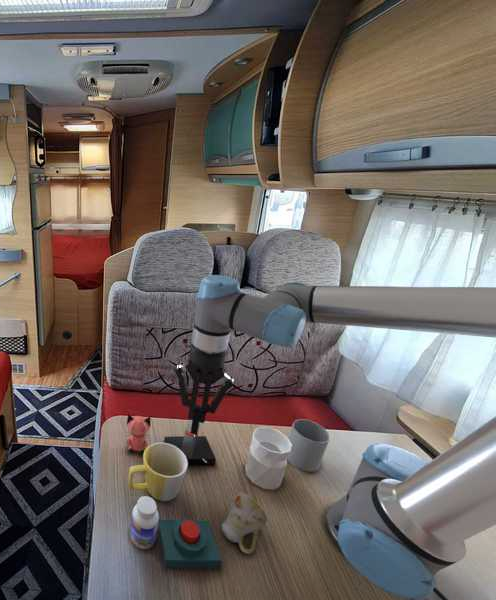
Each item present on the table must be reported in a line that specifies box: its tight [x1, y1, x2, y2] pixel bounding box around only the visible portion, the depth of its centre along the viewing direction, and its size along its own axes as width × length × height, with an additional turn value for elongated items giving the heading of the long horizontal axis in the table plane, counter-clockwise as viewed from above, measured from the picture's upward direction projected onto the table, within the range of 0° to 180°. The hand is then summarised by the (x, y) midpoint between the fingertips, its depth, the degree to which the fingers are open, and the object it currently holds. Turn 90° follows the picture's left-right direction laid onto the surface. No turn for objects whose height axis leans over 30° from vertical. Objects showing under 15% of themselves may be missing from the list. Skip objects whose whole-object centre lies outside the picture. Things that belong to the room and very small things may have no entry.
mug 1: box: [127, 442, 189, 502], centre depth 79 cm, size 14×10×10 cm
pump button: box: [180, 520, 199, 544], centre depth 67 cm, size 4×4×2 cm
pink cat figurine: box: [126, 413, 151, 456], centre depth 90 cm, size 7×7×12 cm
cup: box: [287, 418, 331, 473], centre depth 89 cm, size 8×8×10 cm
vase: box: [244, 426, 292, 491], centre depth 83 cm, size 9×9×12 cm
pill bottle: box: [130, 495, 160, 550], centre depth 69 cm, size 5×5×10 cm
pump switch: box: [157, 517, 222, 568], centre depth 68 cm, size 11×8×4 cm
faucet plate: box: [163, 435, 217, 467], centre depth 91 cm, size 12×11×3 cm
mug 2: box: [221, 492, 268, 555], centre depth 71 cm, size 8×10×10 cm
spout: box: [182, 419, 201, 459], centre depth 89 cm, size 8×3×8 cm, turn 152°
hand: (194, 430), depth 80 cm, fingers closed
